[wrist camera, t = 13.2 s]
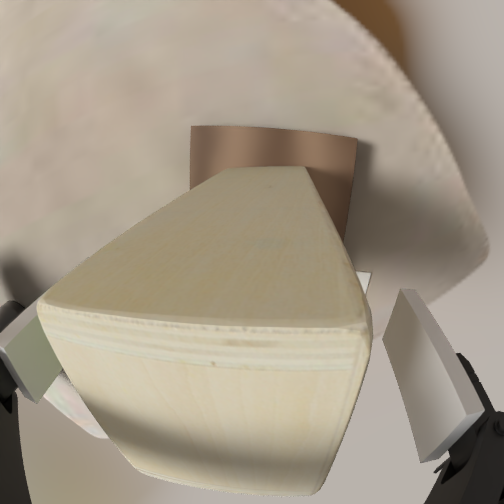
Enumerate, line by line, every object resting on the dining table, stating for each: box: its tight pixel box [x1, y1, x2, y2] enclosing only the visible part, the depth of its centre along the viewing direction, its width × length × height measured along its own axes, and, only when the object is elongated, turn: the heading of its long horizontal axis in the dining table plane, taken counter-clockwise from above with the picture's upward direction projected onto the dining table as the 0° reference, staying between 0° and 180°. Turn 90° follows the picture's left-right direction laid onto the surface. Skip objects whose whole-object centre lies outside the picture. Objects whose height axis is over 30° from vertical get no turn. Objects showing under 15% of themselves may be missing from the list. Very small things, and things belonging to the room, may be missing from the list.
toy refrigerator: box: [37, 166, 373, 496], centre depth 15 cm, size 8×7×21 cm
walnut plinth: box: [190, 126, 357, 243], centre depth 26 cm, size 14×14×3 cm
